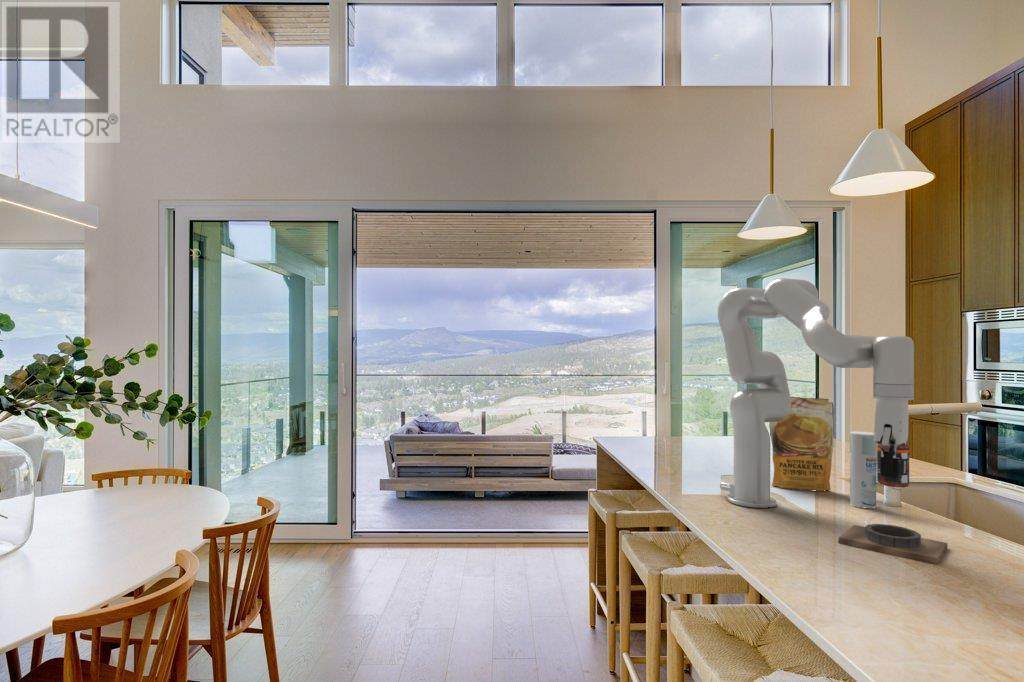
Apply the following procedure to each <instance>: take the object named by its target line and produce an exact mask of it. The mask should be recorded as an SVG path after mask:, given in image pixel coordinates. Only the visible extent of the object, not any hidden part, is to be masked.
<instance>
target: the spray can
mask: <svg viewBox="0 0 1024 682" xmlns="http://www.w3.org/2000/svg"><path fill="white" fill-rule="evenodd" d="M877 445H878V444H877V443H875V442H874V432H871V431H859V430H858V431H855V430H853V431H852V430H851V431H850V432H849V504H852V505H855V506H859V507H866V508H874V507H876V508H877ZM852 505H851V506H852ZM874 509H875V508H874Z"/></svg>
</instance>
